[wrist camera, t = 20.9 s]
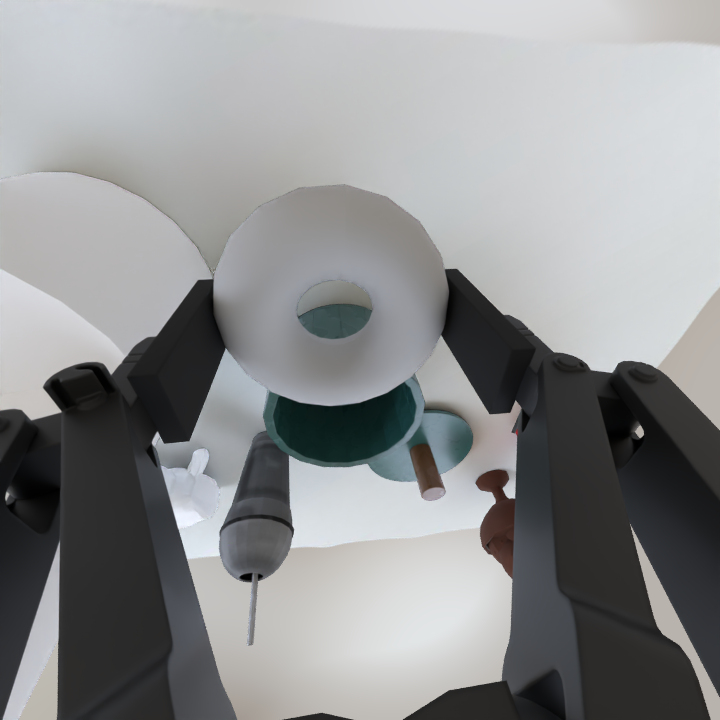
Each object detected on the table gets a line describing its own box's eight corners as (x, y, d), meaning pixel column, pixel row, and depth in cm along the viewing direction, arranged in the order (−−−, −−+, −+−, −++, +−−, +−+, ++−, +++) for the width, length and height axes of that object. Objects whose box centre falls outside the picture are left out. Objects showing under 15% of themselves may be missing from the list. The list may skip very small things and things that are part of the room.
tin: (284, 411, 38) (277, 473, 32) (264, 306, 30) (248, 359, 23) (398, 403, 40) (414, 461, 33) (409, 299, 31) (435, 349, 24)
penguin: (231, 464, 48) (181, 431, 35) (226, 527, 43) (166, 516, 31) (173, 471, 47) (101, 441, 34) (162, 536, 43) (74, 529, 30)
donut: (272, 392, 18) (441, 354, 18) (263, 439, 16) (462, 396, 15) (179, 211, 12) (429, 148, 12) (138, 236, 10) (461, 156, 9)
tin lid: (364, 479, 49) (371, 530, 43) (366, 411, 40) (375, 462, 34) (458, 470, 50) (478, 518, 44) (481, 402, 41) (509, 450, 35)
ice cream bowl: (471, 504, 57) (512, 605, 45) (451, 476, 51) (492, 584, 39) (529, 483, 55) (588, 583, 43) (515, 450, 49) (580, 557, 37)
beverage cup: (282, 416, 39) (258, 620, 23) (308, 449, 43) (303, 641, 27) (229, 434, 40) (171, 643, 24) (260, 465, 44) (228, 659, 28)
